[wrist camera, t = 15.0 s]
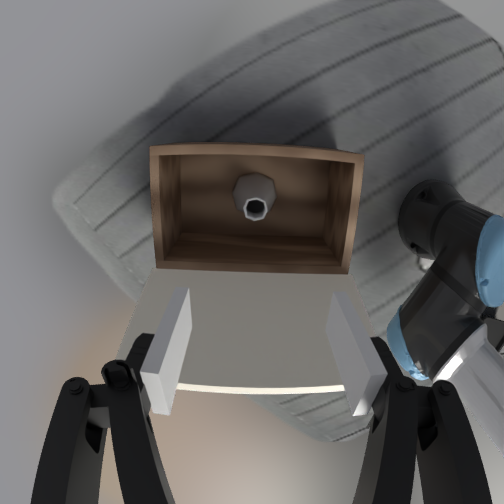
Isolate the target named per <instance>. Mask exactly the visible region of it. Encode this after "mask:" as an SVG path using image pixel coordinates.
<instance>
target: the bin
mask: <svg viewBox="0 0 504 504" xmlns="http://www.w3.org/2000/svg"><path fill="white" fill-rule="evenodd" d="M149 149H150V189H151V209H152V224H153V237H154V248H155V259H156V268H157V269H179V270H202V271H228V272H258V273H295V274H346V275H348V271H349V266H350V260H351V254H352V249H353V243H354V237H355V230H356V223H357V217H358V209H359V202H360V194H361V185H362V176H363V166H364V155H363V154H358V153H353V152H348V151H343V150H338V149H330V148H320V147H310V146H298V145H284V144H267V143H240V142H187V143H169V144H162V145H154V146H149ZM255 172H258V173H260V174H262V175H265V176H267V177H269V178H271V179H273V180H274V185H275V189H276V194H277V198H276V200H275V202H274V204H273V206H272V208H271V210H270V212H268V213H266V215H265V218H264V219H261V220H257V221H253V220H251V219H248V218H246V217H245V214H244V212H242V211H239V210H237V209H236V206H235V202H234V198H233V194H232V191H233V189H234V187H235V184H236V182H237V180H238V177H239V176H242V175H246V174H251V173H255Z"/></svg>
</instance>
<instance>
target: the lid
mask: <svg viewBox="0 0 504 504" xmlns="http://www.w3.org/2000/svg"><path fill="white" fill-rule="evenodd" d="M175 287H188V288H189V294H190V306H191V318H192V330H191V334H190V338H189V341H188V345H187V349H186V353H185V357H184V360H183V364H182V368H181V372H180V376H179V380H178V384H177V388H176V389H181V390H192V391H203V392H218V393H239V394H299V393H319V392H334V391H345V389H344V386H343V383H342V380H341V377H340V373H339V370H338V367H337V364H336V361H335V358H334V355H333V352H332V349H331V346H330V343H329V340H328V337H327V334H326V331H325V329H326V324H327V320H328V315H329V310H330V305H331V300H332V295H333V292H346V293H347V295H348V297H349V299H350V300H351V302H352V304H353V306H354V308H355V310H356V312H357V314H358V316H359V317H360V319H361V321H362V323H363V325H364V327H365V329H366V331H367V333H368V335H369V337H376V334H375V332H374V329H373V326H372V324H371V321H370V318H369V316H368V313H367V311H366V308H365V306H364V303H363V301H362V298H361V296H360V293H359V291H358V288H357V286H356V283H355V281H354V279H353V276H352V275H346V274H295V273H258V272H228V271H202V270H179V269H157V268H152V270H151V273H150V275H149V277H148V279H147V282H146V284H145V286H144V289H143V291H142V293H141V296H140V298H139V300H138V303H137V305H136V307H135V310H134V312H133V315H132V317H131V320H130V322H129V325H128V327H127V330H126V332H125V335H124V338H123V340H122V343H121V345H120V348H119V351H118V354H117V357H116V359H115V360H126V358H127V356H128V354H129V352H130V349H131V348H132V345H133V343H134V341H135V339H136V338H137V337H138V336H140V335H141V334H142V333H149V334H155V333H156V331H157V328H158V326H159V324H160V321H161V319H162V317H163V314H164V312H165V310H166V308H167V305H168V303H169V301H170V299H171V296H172V294H173V292H174V290H175Z"/></svg>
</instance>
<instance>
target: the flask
mask: <svg viewBox="0 0 504 504" xmlns="http://www.w3.org/2000/svg"><path fill="white" fill-rule="evenodd" d="M232 194H233V198H234V202H235V206H236V209H237V210H239V211H242V212H244V214H245V217H246V218H248V219H251V220H253V221H257V220H261V219H264V218H265V215H266V213H268V212H270V210H271V208H272V206H273V204H274V202H275V200H276V198H277V194H276V189H275V185H274V180H273V179H271V178H269V177H267V176H265V175H262V174H260V173H258V172H255V173H251V174H246V175H242V176H239V177H238V180H237V182H236V184H235V187H234V189H233V191H232Z"/></svg>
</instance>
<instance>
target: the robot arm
mask: <svg viewBox="0 0 504 504" xmlns="http://www.w3.org/2000/svg"><path fill="white" fill-rule="evenodd" d="M399 232H400V236H401V238H402V241H403V242H404V244H405V245H406V247H407V248H408V249H409V250H411V251H412V252H413V253H414V254H416V255H417V256H419V257H422V258H426V259H430V260H435V261H434V262H433V264H432V265H431V267H430V268H429V269H428V271H427V272H426V274H425V275H424V277H423V278H422V279H421V281H420V282H419V284H418V285H417V286H416V288H415V289H414V290H413V292H412V293H411V294H410V296H409V297H408V298H407V299H406V301H405V302H404V303H403V304H402V305H401V306H400V307H399V308H398V311H397V313H396V314H395V316H394V317H393V319H392V320H391V321H390V323H389V324H388V327H387V340H388V343H389V346H390V349H391V351H392V353H393V354H394V356H395V358H396V359H397V361H398V362H399V364H400V365H401V366H402V367H403V368H404V369H405V370H406V371H409V373H410V375H411V376H412V377H414V378H416V379H418V380H425V379H428V378H430V379H431V380H432V382H433V383H434V384H433V385H432V387H425V386H417V385H416V383H415V382H414V380H412V379H411V378H409V377H406V376H403V374H402V372H401V370H400V368H399V366H398V364H397V362H396V360H395V359H394V357H393V355H392V353H391V351H390V349H389V347H388V346H387V344H386V342H385V341H383V340H382V339H381V338H380V337H369V335H368V333H367V331H366V329H365V327H364V325H363V323H362V321H361V319H360V317H359V316H358V314H357V312H356V310H355V308H354V306H353V304H352V302H351V300H350V299H349V297H348V295H347V293H346V292H333V295H332V300H331V305H330V310H329V315H328V320H327V324H326V329H325V331H326V334H327V337H328V340H329V343H330V346H331V349H332V352H333V355H334V358H335V361H336V364H337V367H338V370H339V373H340V377H341V380H342V383H343V386H344V389H345V393H346V396H347V399H348V402H349V406H350V409H351V412H352V416H356V415H364V414H368V413H369V411H370V409H371V407H372V408H373V411H374V415H373V416H372V418H371V420H370V422H369V423H368V425H367V428H368V429H369V427H370V431H369V436H368V442H367V447H366V452H365V456H364V461H363V465H362V469H361V474H360V478H359V482H358V486H357V489H356V493H355V497H354V500H353V504H410V501H411V494H412V488H413V480H414V471H415V459H416V455H417V461H418V466H419V473H420V479H421V486H422V492H423V500H424V504H492V500H491V495H490V490H489V486H488V482H487V478H486V474H485V471H484V467H483V463H482V460H481V456H480V453H479V450H478V447H477V444H476V440H475V437H474V435H473V431H472V429H471V426H470V423H469V420H468V418H467V415H466V412H465V410H464V407H463V405H462V402H463V404H464V405H465V406H466V407H467V409H468V410H469V411H470V412H471V414H472V415H473V416H474V418H475V419H476V420H477V422H478V423H479V424H480V426H481V427H482V428H483V430H484V431H485V432H486V433H487V435H488V436H489V438H490V439H491V440H492V442H493V443H494V445H495V446H496V447H497V449H498V450H499V452H500V453H501V454H502V456H503V457H504V358H503V357H502V356H501V355H500V354H499V353H498V352H497V350H496V349H495V348H494V347H493V346H492V345H491V344H490V343H489V342H488V340H487V325H486V324H485V323H484V322H483V321H482V320H481V319H480V316H481V314H482V313H483V311H484V310H485V309H486V307H487V306H488V307H498V306H500V305H502V304H503V302H504V218H503V217H501V216H499V215H495V214H493V213H491V212H488V211H486V210H484V209H482V208H480V207H477V206H475V205H473V204H471V203H468V202H466V201H465V200H464V199H463V198H462V196H461V195H460V194H459V193H458V192H457V191H456V190H455V189H454V188H453V187H452V186H450V185H449V184H447V183H444V182H441V181H438V180H427V181H424V182H422V183H420V184H418V185H417V186H415V187H414V188H413V189H412V190H411V191H410V192H409V194H408V195H407V197H406V198H405V200H404V202H403V204H402V207H401V210H400V215H399ZM191 330H192V318H191V306H190V294H189V288H188V287H175V290H174V292H173V294H172V296H171V299H170V301H169V303H168V305H167V308H166V310H165V312H164V314H163V317H162V319H161V321H160V324H159V326H158V328H157V331H156V333H155V334H149V333H142V334H141V335H140V336H138V337H137V338H136V339H135V341H134V343H133V345H132V348H131V349H130V352H129V354H128V356H127V358H126V360H113V361H110V362H108V363H107V364H105V365H104V367H103V368H102V371H101V374H102V376H103V379H104V381H105V384H98V385H89V383H88V381H87V380H85V379H84V378H81V377H74V378H71V379H69V380H67V381H66V382H65V383H64V385H63V387H62V389H61V392H60V395H59V397H58V400H57V403H56V406H55V409H54V412H53V416H52V418H51V421H50V425H49V428H48V431H47V435H46V438H45V442H44V446H43V449H42V453H41V457H40V461H39V465H38V469H37V474H36V478H35V483H34V488H33V493H32V498H31V504H98V498H99V488H100V477H101V469H102V461H103V454H104V447H105V441H106V434H107V428H111V435H112V442H113V449H114V455H115V461H116V467H117V472H118V477H119V482H120V487H121V491H122V496H123V499H124V504H175V501H174V499H173V495H172V493H171V490H170V487H169V484H168V481H167V478H166V474H165V471H164V468H163V465H162V461H161V458H160V454H159V451H158V447H157V444H156V440H155V436H154V432H153V428H152V424H151V420H150V417H149V411H150V407H151V408H152V411H153V413H157V414H164V415H170V412H171V408H172V404H173V400H174V396H175V392H176V388H177V384H178V380H179V376H180V372H181V368H182V364H183V360H184V357H185V353H186V349H187V345H188V341H189V338H190V334H191ZM461 401H462V402H461Z"/></svg>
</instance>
